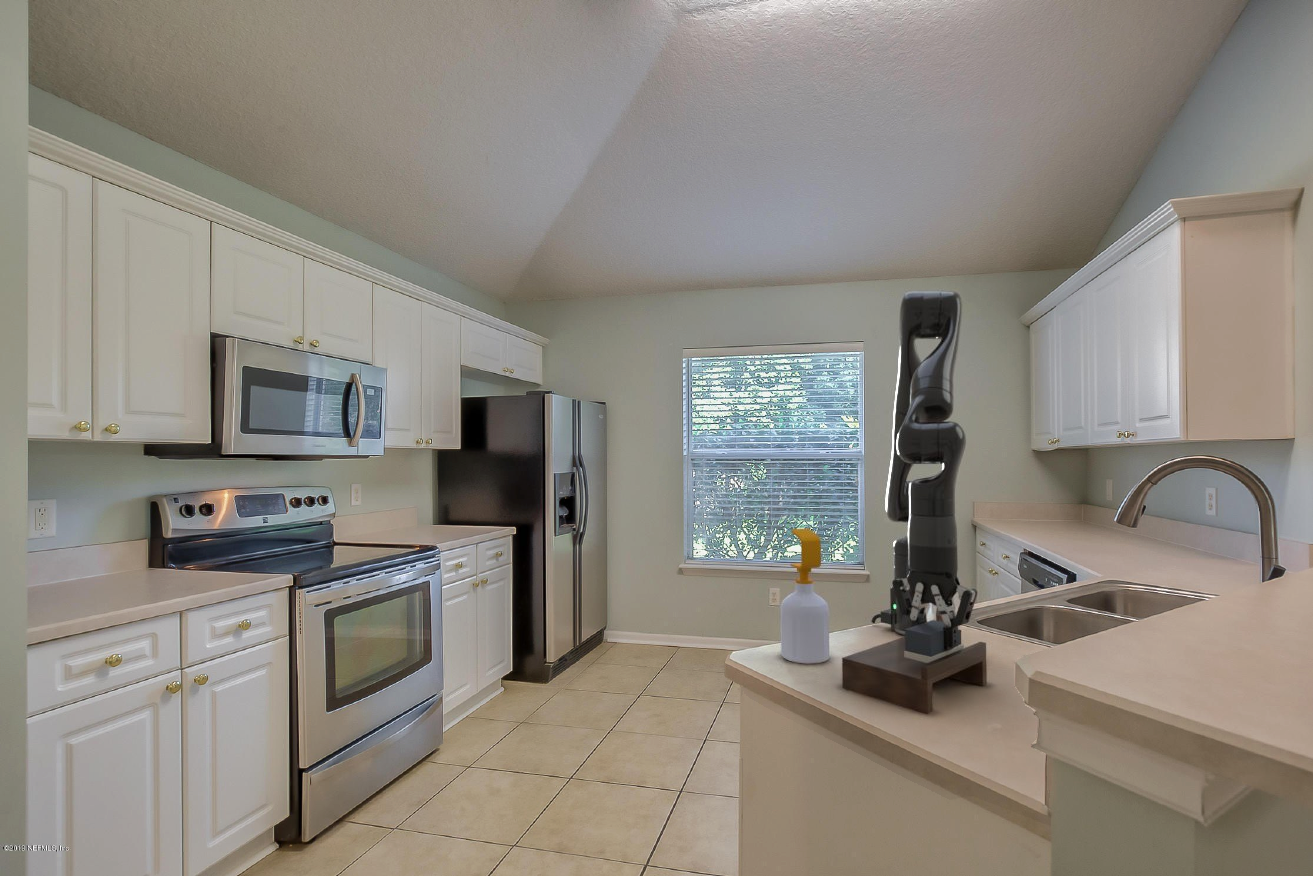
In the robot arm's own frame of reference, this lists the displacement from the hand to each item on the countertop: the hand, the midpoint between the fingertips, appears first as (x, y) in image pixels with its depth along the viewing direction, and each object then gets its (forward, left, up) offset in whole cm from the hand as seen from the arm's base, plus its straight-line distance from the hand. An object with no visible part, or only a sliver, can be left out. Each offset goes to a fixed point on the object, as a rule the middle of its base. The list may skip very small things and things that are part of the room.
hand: (934, 645), depth 109 cm
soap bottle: (-25, -1, -8) cm, 27 cm away
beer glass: (-8, +20, -8) cm, 23 cm away
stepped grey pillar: (0, 0, -1) cm, 1 cm away
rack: (-3, 0, -7) cm, 8 cm away
